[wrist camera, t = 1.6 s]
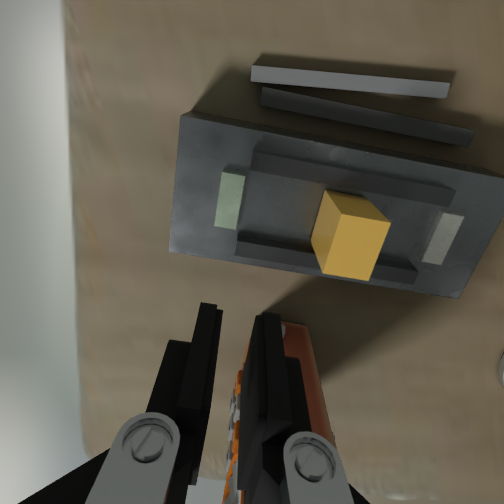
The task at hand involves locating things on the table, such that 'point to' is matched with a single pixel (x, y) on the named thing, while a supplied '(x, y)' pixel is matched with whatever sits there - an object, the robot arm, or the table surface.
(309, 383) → the control panel
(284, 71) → the grey square bar
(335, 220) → the yellow block
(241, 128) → the slider track
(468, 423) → the table surface
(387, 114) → the dark grey long bar
